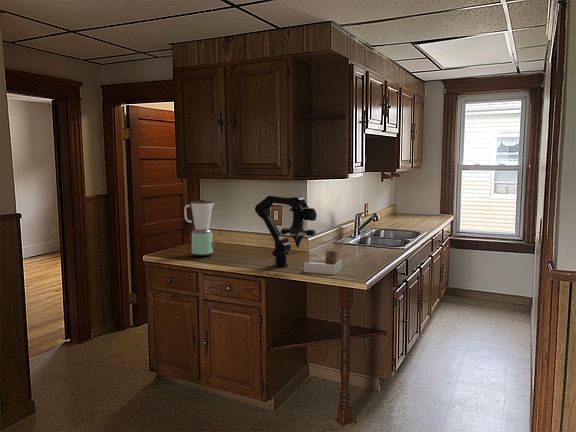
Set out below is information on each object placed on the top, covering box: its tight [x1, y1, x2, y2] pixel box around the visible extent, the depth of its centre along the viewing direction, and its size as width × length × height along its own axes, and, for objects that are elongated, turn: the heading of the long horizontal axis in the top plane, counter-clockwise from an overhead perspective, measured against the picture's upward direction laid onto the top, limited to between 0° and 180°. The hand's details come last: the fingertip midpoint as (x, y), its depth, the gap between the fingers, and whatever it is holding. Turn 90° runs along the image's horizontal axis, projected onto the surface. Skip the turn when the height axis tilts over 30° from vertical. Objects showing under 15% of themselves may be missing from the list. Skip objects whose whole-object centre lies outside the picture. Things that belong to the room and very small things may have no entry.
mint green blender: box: [183, 199, 216, 258], centre depth 302 cm, size 19×13×35 cm
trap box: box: [303, 257, 342, 275], centre depth 266 cm, size 17×15×5 cm
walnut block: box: [325, 248, 340, 265], centre depth 267 cm, size 6×6×8 cm
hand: (297, 247), depth 269 cm, fingers closed
